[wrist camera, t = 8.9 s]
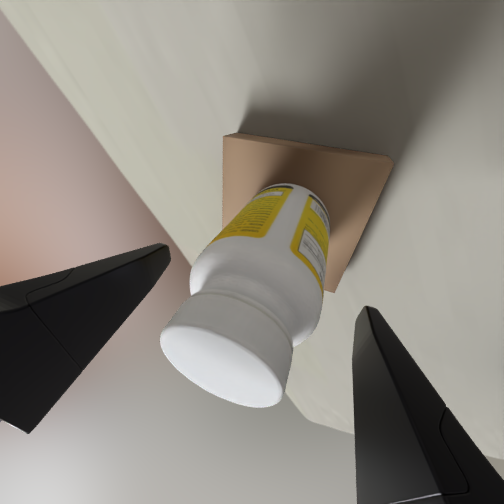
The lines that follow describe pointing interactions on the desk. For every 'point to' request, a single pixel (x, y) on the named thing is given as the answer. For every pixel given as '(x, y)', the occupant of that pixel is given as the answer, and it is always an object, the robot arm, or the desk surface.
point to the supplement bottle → (253, 298)
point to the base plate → (308, 185)
